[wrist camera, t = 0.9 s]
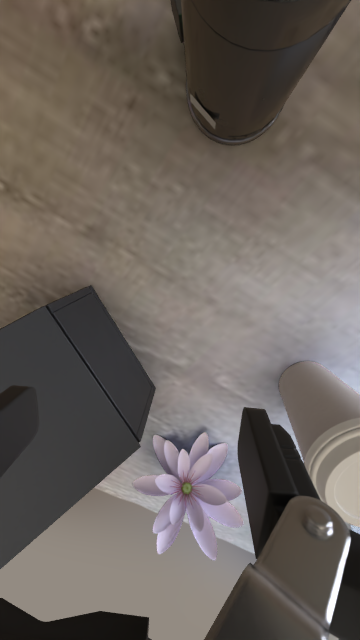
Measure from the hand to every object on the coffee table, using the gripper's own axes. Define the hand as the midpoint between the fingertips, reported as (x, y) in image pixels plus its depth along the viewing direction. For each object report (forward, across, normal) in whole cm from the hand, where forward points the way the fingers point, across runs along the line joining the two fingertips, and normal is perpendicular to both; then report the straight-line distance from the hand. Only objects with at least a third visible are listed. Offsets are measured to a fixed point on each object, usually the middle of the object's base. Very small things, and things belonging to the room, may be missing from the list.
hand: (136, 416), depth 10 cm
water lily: (+23, -4, +23) cm, 33 cm away
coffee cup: (+23, -17, +10) cm, 30 cm away
